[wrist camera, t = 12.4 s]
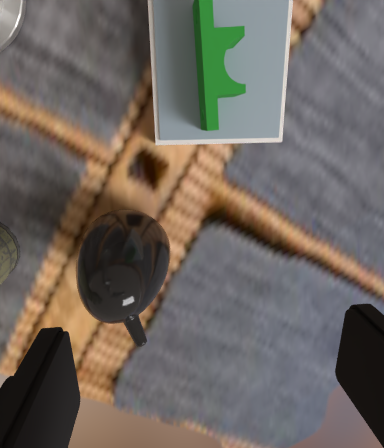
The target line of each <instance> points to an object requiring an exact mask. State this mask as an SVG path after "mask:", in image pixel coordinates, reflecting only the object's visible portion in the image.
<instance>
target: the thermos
mask: <svg viewBox="0 0 384 448" xmlns="http://www.w3.org/2000/svg"><path fill="white" fill-rule="evenodd" d="M19 258H20V246H19V244H18V241H17V239H16V237H15V236H14V234H13V233H12V232H11V231H10V229H9V228H8V227H6V226H5V225H3V224H2V223H1V222H0V285H1V284H2V283H3V282H4V280H5V279H6V278H7V277H8V275H9V274H10V273H11V272H12V271H13V269H14V268H15V267H16V266H17V264H18V261H19Z"/></svg>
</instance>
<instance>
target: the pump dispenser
mask: <svg viewBox="0 0 384 448" xmlns="http://www.w3.org/2000/svg"><path fill="white" fill-rule="evenodd" d="M169 263H170V243H169V239H168V237H167V234H166V232H165V231H164V229H163V228H162V226H161V225H160V224H159V223H158V222H157V221H156V220H154V219H153V218H152V217H150V216H148V215H146V214H144V213H142V212H139V211H135V210H115V211H111V212H108V213H106V214H104V215H102V216H100V217H99V218H97V219H96V220H95V221H94V222H93V223H92V224H91V225H90V226H89V227H88V229H87V230H86V232H85V233H84V235H83V238H82V240H81V243H80V246H79V250H78V254H77V260H76V281H77V288H78V292H79V296H80V299H81V301H82V303H83V305H84V307H85V308H86V310H87V311H88V312H89V313H90V314H91V315H92V316H93V317H94V318H95V319H97V320H99V321H101V322H104V323H108V324H115V323H122V322H123V323H124V324H125V326H126V328H127V330H128V332H129V334H130V335H131V337H132V339H133V341H134V343H135V345H136V346H137V347H141V346H143V345H145V344H146V342H147V339H146V336H145V333H144V330H143V327H142V325H141V322H140V319H139V316H138V315H139V314H140V313H141V312H143V311H144V310H145V309H146V308H147V307H148V306H149V305H150V303H151V302H152V301H153V300H154V298H155V297H156V295H157V294H158V292H159V290H160V289H161V287H162V285H163V282H164V280H165V277H166V274H167V271H168V267H169Z"/></svg>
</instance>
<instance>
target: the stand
mask: <svg viewBox="0 0 384 448" xmlns="http://www.w3.org/2000/svg"><path fill="white" fill-rule="evenodd" d="M193 3H194V0H148V13H149V31H150V50H151V68H152V86H153V104H154V122H155V140H156V145H185V144H224V143H264V142H282V135H283V122H284V109H285V96H286V83H287V70H288V57H289V44H290V31H291V18H292V5H293V0H213V16H214V28H218V27H234V26H245V36H244V37H243V38H242V39H241V40H240V41H239V42H238V43H237V44H236V45H235V46H234V47H233V48H231V49H228V50H226V53H225V57H224V65H225V69H226V72H227V74H228V75H229V77H230V78H231V79H232V80H234V81H235V82H237V83H241V84H246V93H244V94H241V95H238V96H235V97H227V98H218V118H219V130H213V131H204V130H201V124H200V109H199V94H198V80H197V65H196V51H195V36H194V21H193V7H192V6H193Z"/></svg>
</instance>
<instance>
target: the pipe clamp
mask: <svg viewBox="0 0 384 448" xmlns="http://www.w3.org/2000/svg"><path fill="white" fill-rule="evenodd" d="M192 7H193V21H194V36H195V51H196V65H197V80H198V94H199V109H200V124H201V130H204V131H213V130H219V118H218V98H227V97H235V96H238V95H241V94H244V93H246V84H241V83H237V82H235V81H234V80H232V79H231V78H230V77H229V75H228V74H227V72H226V69H225V65H224V57H225V53H226V50H228V49H231V48H233V47H234V46H235V45H236V44H237V43H238V42H239V41H240V40H241V39H242V38H243V37H244V36H245V26H234V27H218V28H214V16H213V0H194V3H193V6H192Z"/></svg>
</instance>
